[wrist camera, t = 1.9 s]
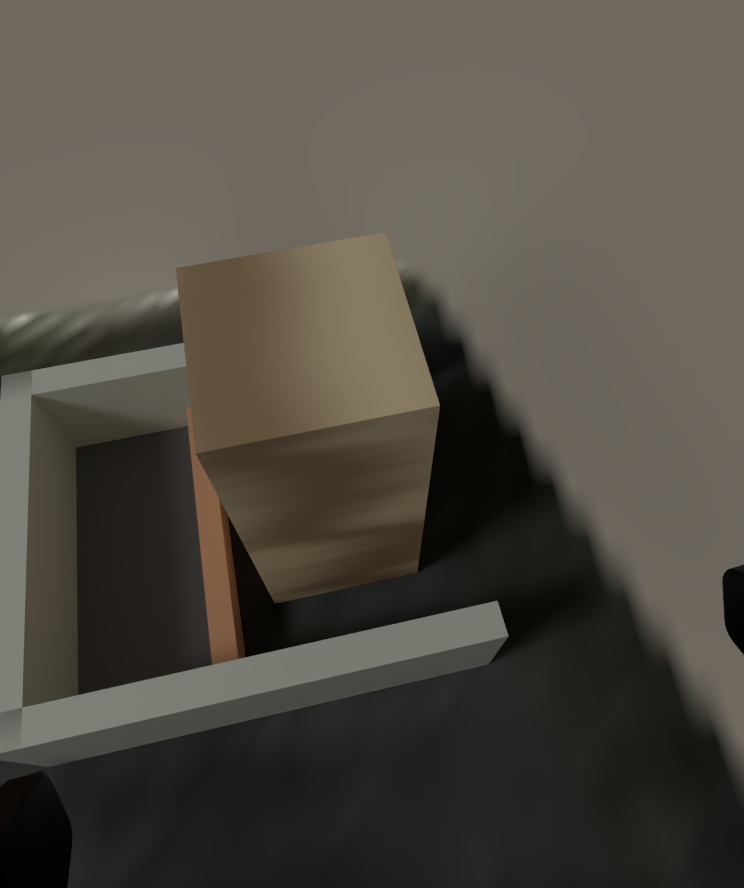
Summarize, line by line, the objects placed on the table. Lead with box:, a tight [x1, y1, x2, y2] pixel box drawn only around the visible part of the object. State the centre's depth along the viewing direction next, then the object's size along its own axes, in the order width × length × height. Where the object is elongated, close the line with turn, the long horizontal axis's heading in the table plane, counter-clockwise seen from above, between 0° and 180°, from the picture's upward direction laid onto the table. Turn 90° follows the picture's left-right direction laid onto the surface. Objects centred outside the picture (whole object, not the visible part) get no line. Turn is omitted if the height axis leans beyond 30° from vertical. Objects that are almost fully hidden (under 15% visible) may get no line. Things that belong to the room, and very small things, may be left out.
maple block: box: [176, 232, 440, 604], centre depth 20 cm, size 5×5×11 cm
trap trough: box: [0, 343, 508, 767], centre depth 22 cm, size 14×12×4 cm
